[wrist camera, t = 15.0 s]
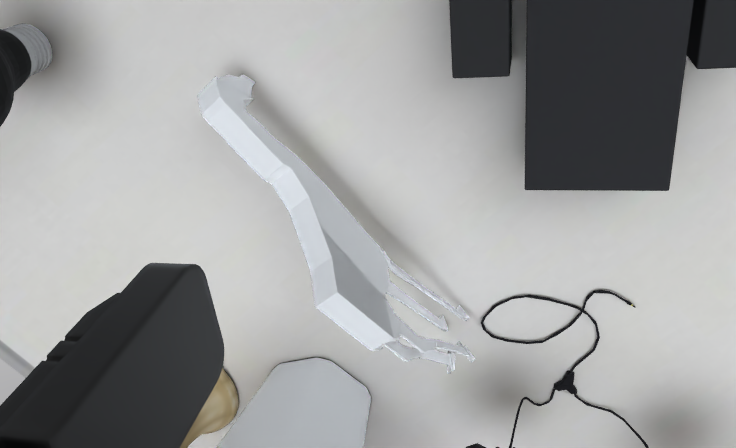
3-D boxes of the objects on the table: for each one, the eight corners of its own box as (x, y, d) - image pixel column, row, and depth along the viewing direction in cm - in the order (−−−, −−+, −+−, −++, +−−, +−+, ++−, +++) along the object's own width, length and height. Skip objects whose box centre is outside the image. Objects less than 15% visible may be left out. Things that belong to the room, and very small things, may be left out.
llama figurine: (452, 226, 41) (222, 52, 31) (483, 385, 33) (189, 219, 24) (430, 240, 42) (199, 75, 32) (455, 398, 34) (160, 244, 24)
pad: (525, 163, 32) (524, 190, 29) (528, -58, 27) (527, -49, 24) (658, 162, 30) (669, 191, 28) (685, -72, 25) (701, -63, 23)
